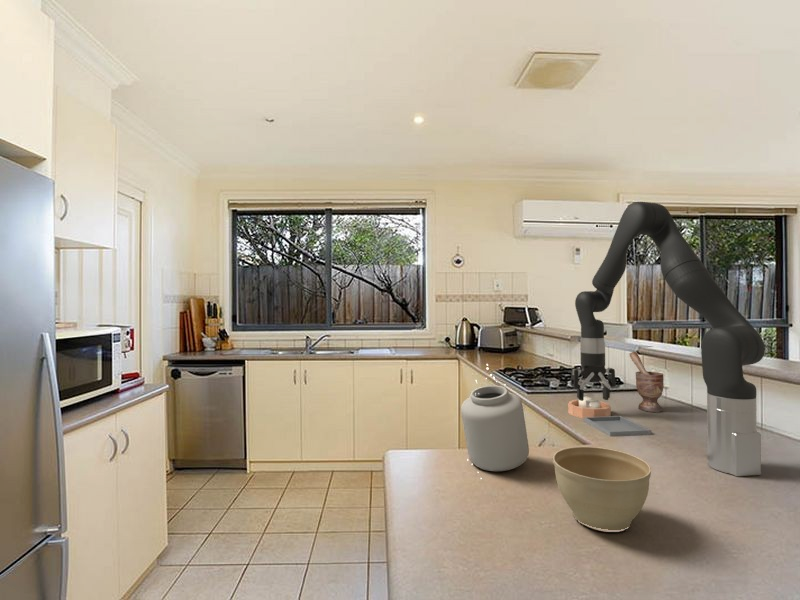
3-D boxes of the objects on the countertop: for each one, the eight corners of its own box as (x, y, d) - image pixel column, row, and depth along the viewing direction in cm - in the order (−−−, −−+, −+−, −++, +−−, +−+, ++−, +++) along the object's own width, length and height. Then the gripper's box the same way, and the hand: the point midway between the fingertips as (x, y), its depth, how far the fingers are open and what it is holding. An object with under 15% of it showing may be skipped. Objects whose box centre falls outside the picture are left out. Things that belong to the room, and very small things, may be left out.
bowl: (618, 420, 141) (618, 408, 141) (580, 422, 140) (580, 409, 140) (597, 410, 154) (597, 398, 154) (562, 411, 153) (561, 400, 153)
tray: (651, 437, 124) (651, 430, 124) (610, 438, 123) (610, 431, 123) (620, 422, 139) (620, 415, 139) (583, 423, 138) (583, 417, 138)
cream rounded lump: (595, 412, 147) (595, 398, 147) (582, 412, 147) (582, 399, 147) (588, 409, 152) (588, 396, 152) (576, 409, 151) (576, 396, 151)
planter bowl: (569, 492, 91) (569, 440, 91) (658, 516, 80) (658, 458, 80) (540, 524, 78) (539, 464, 78) (641, 557, 68) (640, 488, 68)
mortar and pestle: (623, 408, 156) (622, 352, 156) (631, 403, 162) (631, 350, 162) (659, 414, 148) (658, 355, 147) (667, 409, 154) (666, 353, 153)
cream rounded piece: (603, 416, 142) (602, 402, 142) (590, 417, 142) (590, 403, 142) (595, 413, 147) (595, 399, 147) (583, 413, 146) (583, 399, 146)
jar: (492, 487, 93) (491, 371, 93) (443, 467, 105) (442, 364, 105) (541, 464, 106) (540, 362, 105) (492, 448, 117) (491, 356, 117)
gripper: (577, 353, 140) (578, 403, 140) (619, 352, 141) (620, 401, 141) (566, 350, 147) (567, 398, 147) (606, 349, 148) (607, 396, 148)
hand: (593, 399), depth 144 cm, fingers open, 8 cm apart
